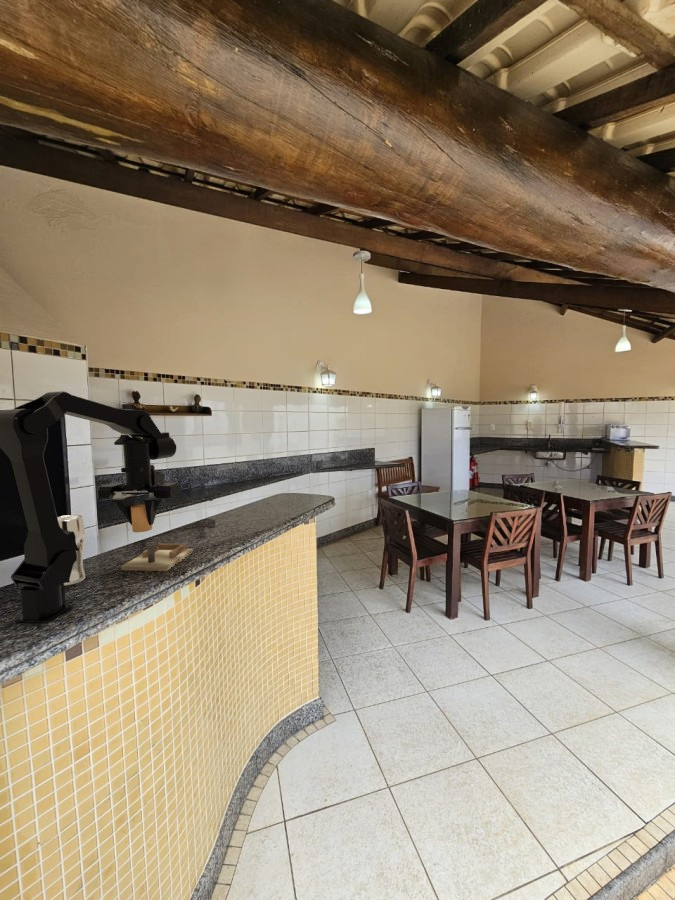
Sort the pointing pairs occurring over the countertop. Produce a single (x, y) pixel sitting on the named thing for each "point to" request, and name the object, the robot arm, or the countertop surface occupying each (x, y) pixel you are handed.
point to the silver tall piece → (76, 526)
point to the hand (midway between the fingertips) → (142, 524)
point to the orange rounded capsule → (139, 518)
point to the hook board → (158, 557)
